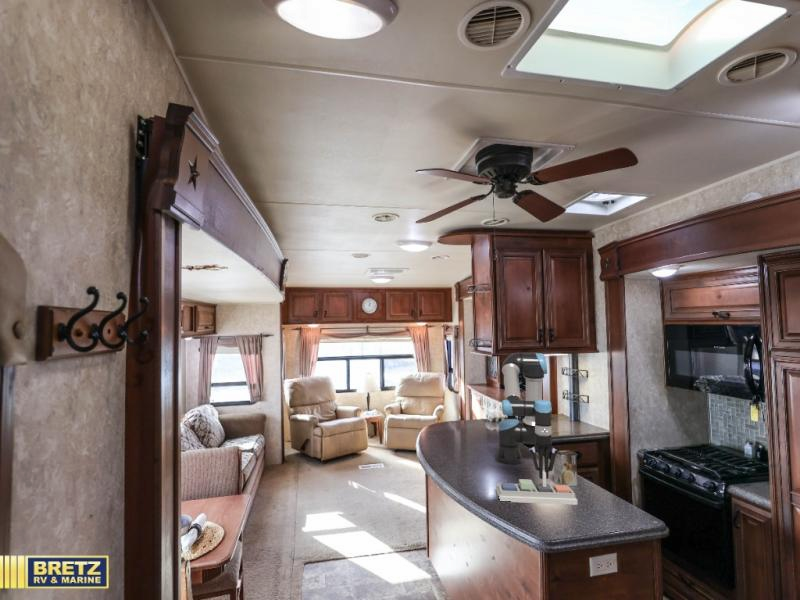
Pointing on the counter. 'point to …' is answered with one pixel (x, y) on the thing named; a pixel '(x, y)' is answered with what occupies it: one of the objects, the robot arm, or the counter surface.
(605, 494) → the counter surface
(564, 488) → the key coral
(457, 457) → the counter surface
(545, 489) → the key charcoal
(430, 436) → the counter surface
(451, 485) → the counter surface
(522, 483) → the key sage
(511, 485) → the key slate blue
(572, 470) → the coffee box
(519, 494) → the keypad board
